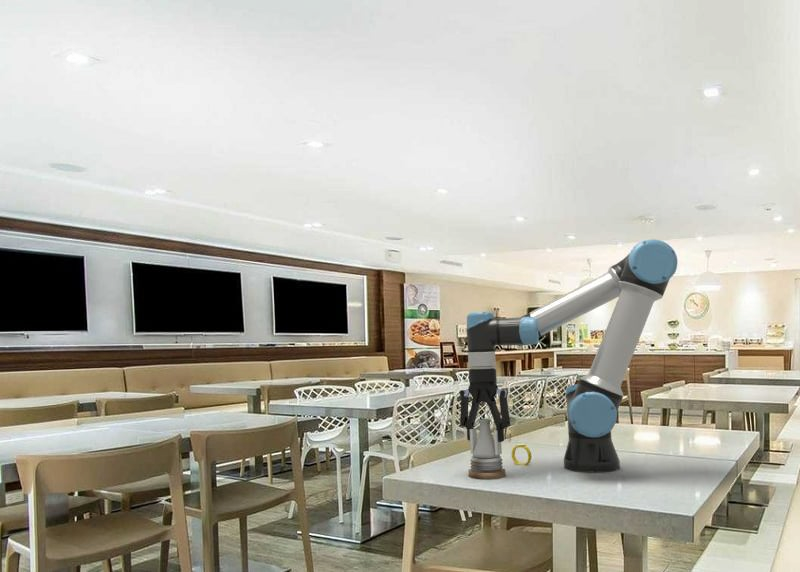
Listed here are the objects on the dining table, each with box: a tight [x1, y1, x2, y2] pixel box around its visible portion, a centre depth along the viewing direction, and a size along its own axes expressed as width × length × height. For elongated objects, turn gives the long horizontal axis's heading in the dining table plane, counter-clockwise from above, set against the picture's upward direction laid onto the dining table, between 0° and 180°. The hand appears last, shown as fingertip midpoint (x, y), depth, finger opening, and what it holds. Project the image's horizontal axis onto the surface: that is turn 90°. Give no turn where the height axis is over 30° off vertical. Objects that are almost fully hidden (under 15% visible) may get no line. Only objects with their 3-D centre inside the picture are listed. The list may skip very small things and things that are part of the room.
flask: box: [471, 418, 501, 458], centre depth 176 cm, size 7×7×10 cm
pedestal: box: [467, 455, 507, 480], centre depth 175 cm, size 10×10×5 cm
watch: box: [511, 443, 532, 466], centre depth 191 cm, size 6×3×6 cm, turn 50°
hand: (486, 453), depth 176 cm, fingers closed on flask, 6 cm apart
